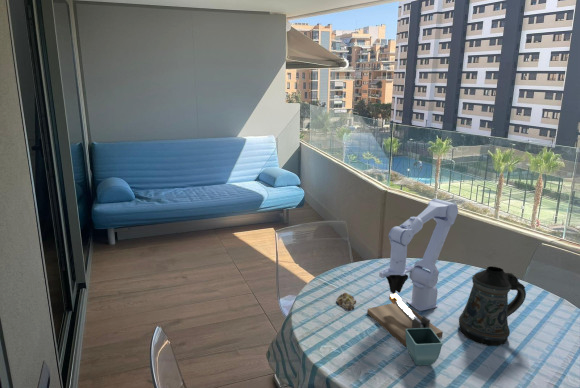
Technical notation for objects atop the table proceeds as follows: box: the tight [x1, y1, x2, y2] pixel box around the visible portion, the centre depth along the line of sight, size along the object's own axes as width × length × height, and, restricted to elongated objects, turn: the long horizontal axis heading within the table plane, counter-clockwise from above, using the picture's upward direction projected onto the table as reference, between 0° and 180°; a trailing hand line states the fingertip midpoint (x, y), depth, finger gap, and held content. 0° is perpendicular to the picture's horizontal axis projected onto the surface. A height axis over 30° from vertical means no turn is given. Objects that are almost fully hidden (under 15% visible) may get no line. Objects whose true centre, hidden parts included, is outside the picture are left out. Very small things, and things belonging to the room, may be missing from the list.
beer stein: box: [458, 266, 527, 347], centre depth 139 cm, size 16×19×25 cm
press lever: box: [388, 293, 425, 328], centre depth 143 cm, size 3×17×2 cm, turn 23°
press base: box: [366, 302, 444, 348], centre depth 145 cm, size 16×23×7 cm
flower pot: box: [405, 328, 443, 366], centre depth 125 cm, size 9×9×9 cm
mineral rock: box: [335, 292, 357, 311], centre depth 160 cm, size 11×4×8 cm
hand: (395, 292), depth 149 cm, fingers closed
